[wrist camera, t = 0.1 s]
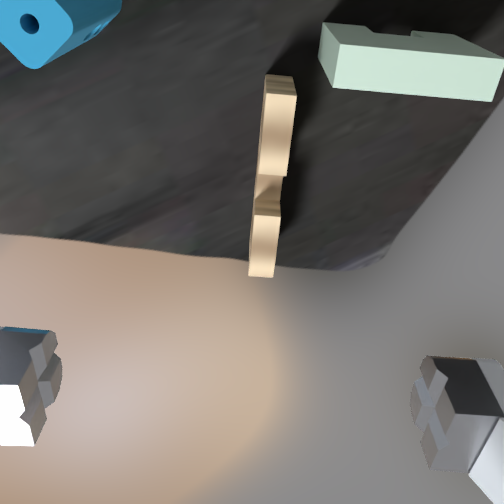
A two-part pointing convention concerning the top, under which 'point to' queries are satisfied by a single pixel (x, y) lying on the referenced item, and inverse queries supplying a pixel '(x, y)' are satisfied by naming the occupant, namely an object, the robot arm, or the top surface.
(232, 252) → the top surface
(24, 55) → the block
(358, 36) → the sage plate
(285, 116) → the oak board
